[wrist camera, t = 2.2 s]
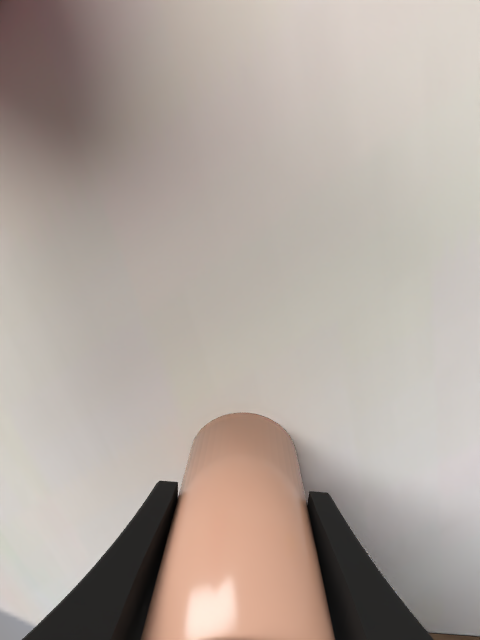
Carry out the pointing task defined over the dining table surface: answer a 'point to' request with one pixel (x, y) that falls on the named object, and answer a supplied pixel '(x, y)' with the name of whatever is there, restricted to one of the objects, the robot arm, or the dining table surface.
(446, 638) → the walnut tray
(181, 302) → the dining table surface
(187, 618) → the terracotta shaker
